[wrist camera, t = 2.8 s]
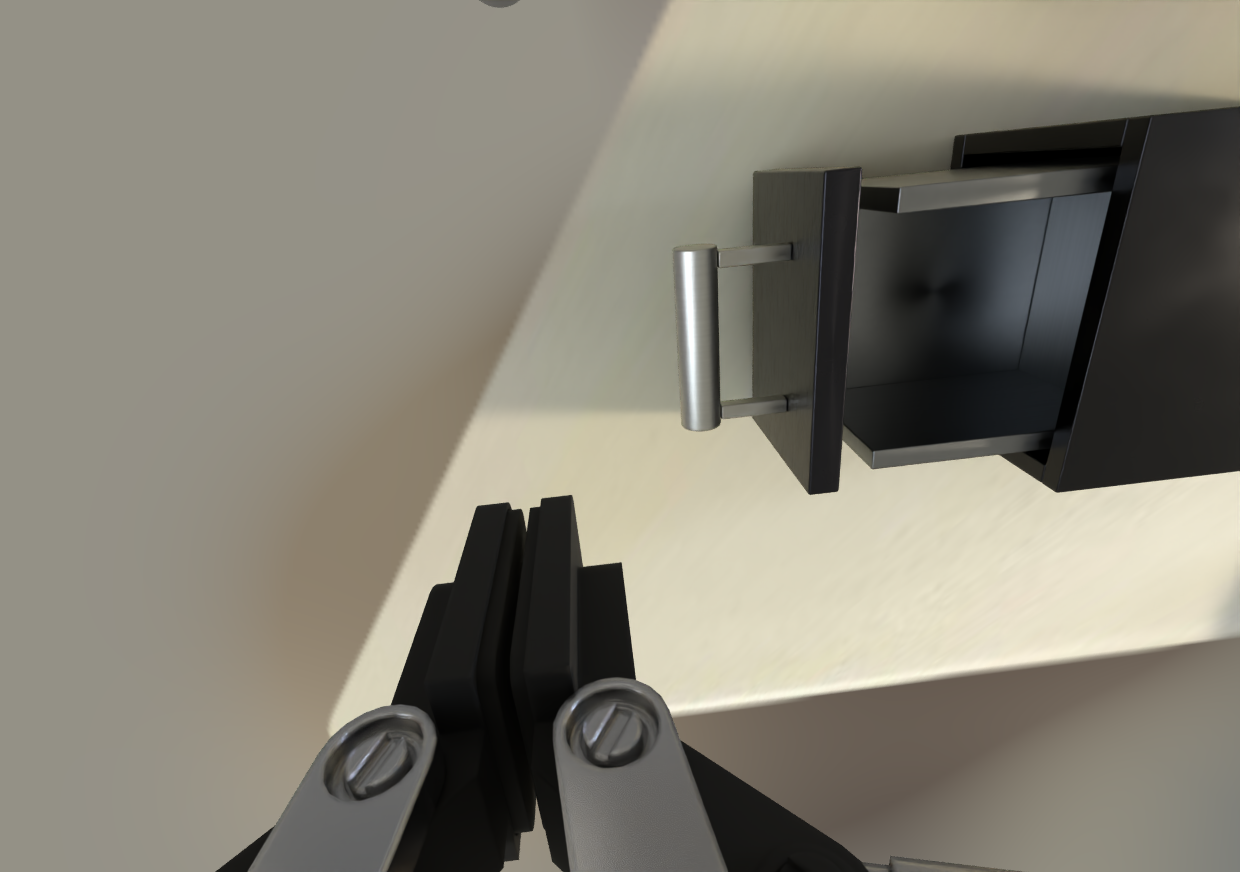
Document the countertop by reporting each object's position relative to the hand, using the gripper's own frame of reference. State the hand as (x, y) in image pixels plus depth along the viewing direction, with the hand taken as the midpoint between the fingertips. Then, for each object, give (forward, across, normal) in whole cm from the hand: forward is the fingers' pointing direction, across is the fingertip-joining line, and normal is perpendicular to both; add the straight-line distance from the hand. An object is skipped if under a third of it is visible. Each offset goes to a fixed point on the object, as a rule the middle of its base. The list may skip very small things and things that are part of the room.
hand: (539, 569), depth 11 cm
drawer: (+18, -14, 0) cm, 23 cm away
